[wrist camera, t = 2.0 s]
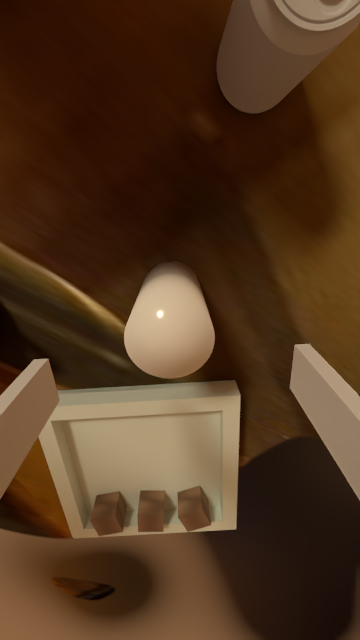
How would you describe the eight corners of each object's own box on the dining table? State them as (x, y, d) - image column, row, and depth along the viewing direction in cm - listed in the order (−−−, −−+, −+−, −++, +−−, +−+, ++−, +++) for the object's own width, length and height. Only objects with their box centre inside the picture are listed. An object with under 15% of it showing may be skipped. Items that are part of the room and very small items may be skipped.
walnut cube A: (104, 510, 42) (98, 536, 38) (96, 495, 40) (89, 520, 37) (126, 506, 41) (122, 532, 38) (119, 491, 40) (114, 516, 37)
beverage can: (284, 0, 21) (409, -230, 10) (300, 98, 23) (415, 2, 12) (204, 37, 22) (236, -138, 11) (227, 129, 24) (273, 65, 13)
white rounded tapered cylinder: (146, 317, 31) (130, 380, 20) (140, 262, 28) (118, 300, 17) (200, 313, 31) (215, 375, 19) (198, 259, 28) (214, 294, 17)
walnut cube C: (186, 506, 42) (187, 532, 38) (177, 492, 40) (177, 517, 37) (208, 500, 41) (211, 525, 38) (199, 485, 40) (202, 509, 37)
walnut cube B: (140, 506, 41) (138, 531, 38) (140, 490, 40) (137, 515, 37) (164, 506, 42) (163, 531, 38) (164, 490, 40) (163, 515, 37)
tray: (79, 517, 43) (72, 538, 41) (40, 391, 34) (28, 408, 31) (232, 508, 43) (236, 529, 40) (235, 379, 34) (240, 395, 31)
